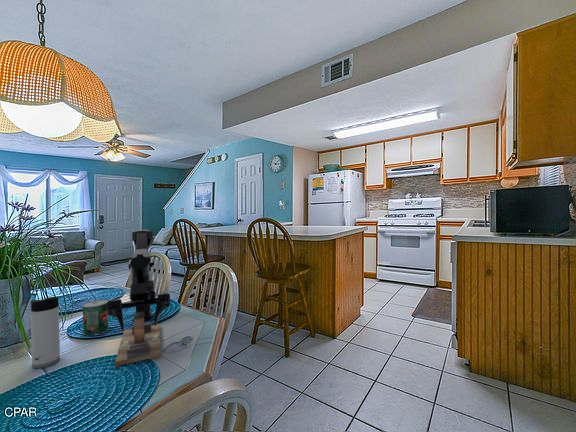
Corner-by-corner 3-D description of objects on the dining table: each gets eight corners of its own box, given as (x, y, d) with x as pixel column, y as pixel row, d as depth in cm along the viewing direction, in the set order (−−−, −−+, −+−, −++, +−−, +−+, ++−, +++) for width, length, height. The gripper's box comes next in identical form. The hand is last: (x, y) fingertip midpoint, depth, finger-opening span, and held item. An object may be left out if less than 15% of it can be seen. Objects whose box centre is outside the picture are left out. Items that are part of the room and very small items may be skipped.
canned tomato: (111, 331, 102) (110, 302, 101) (85, 338, 96) (85, 308, 96) (105, 325, 107) (104, 298, 107) (80, 331, 101) (80, 303, 101)
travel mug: (36, 371, 76) (34, 302, 76) (29, 364, 79) (27, 298, 79) (63, 360, 81) (62, 296, 81) (55, 354, 85) (54, 292, 84)
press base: (124, 333, 99) (124, 323, 99) (159, 327, 104) (159, 317, 104) (115, 367, 78) (115, 354, 78) (160, 356, 83) (160, 344, 83)
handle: (131, 345, 86) (130, 312, 86) (148, 341, 88) (148, 309, 88) (129, 352, 81) (129, 318, 81) (148, 348, 84) (147, 315, 83)
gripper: (106, 276, 86) (100, 322, 76) (169, 270, 94) (171, 311, 84) (110, 293, 93) (105, 338, 83) (168, 286, 101) (170, 326, 91)
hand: (139, 327), depth 85 cm, fingers open, 9 cm apart
